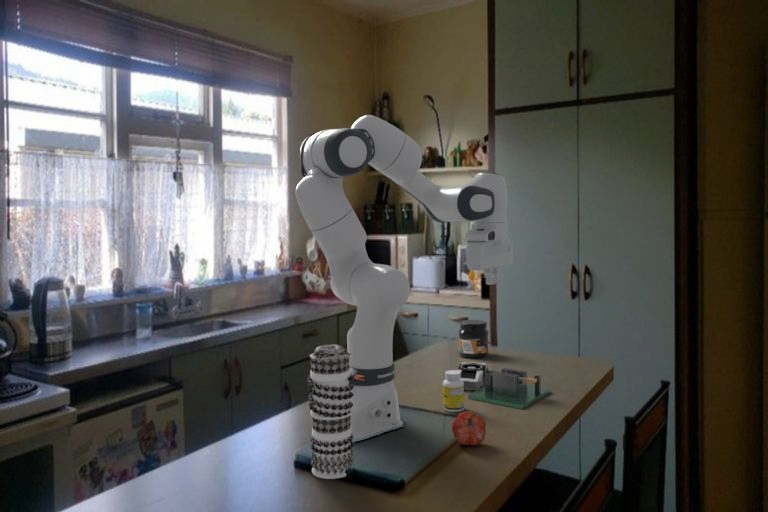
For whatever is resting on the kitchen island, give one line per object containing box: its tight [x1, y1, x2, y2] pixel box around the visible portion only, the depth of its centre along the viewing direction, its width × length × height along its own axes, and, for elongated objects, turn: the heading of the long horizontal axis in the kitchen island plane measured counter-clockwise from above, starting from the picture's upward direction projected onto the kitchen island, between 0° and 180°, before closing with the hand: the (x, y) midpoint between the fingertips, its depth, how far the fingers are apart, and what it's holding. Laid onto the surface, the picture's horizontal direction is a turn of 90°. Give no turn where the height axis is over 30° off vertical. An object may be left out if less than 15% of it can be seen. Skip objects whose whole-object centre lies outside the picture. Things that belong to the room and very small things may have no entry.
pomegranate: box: [451, 410, 486, 446], centre depth 137 cm, size 7×7×10 cm
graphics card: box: [457, 361, 489, 392], centre depth 188 cm, size 10×3×25 cm
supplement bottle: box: [442, 369, 465, 413], centre depth 160 cm, size 5×5×10 cm
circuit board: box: [467, 367, 552, 410], centre depth 171 cm, size 18×16×6 cm
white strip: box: [491, 373, 537, 384], centre depth 171 cm, size 3×14×1 cm, turn 52°
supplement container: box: [457, 319, 490, 359], centre depth 218 cm, size 10×10×12 cm
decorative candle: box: [306, 344, 355, 480], centre depth 124 cm, size 9×9×25 cm
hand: (491, 284), depth 168 cm, fingers closed
